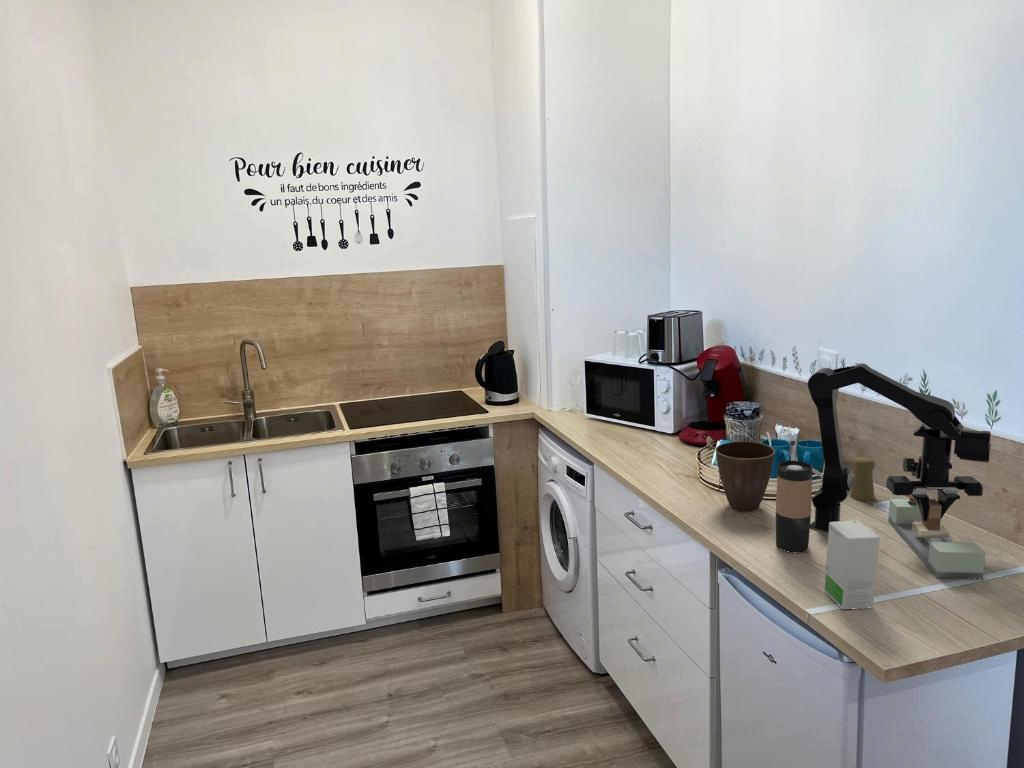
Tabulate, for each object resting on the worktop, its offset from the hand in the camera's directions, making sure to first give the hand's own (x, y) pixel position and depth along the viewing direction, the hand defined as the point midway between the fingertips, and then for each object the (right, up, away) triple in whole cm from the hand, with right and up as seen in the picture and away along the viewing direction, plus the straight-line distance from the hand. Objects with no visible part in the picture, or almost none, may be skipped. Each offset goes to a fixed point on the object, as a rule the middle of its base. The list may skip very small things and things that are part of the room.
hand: (930, 521), depth 174 cm
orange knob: (+2, +2, +11) cm, 11 cm away
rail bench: (0, -6, 0) cm, 6 cm away
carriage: (0, -3, +1) cm, 3 cm away
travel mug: (-30, -7, +4) cm, 31 cm away
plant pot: (-34, -2, +29) cm, 45 cm away
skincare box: (-28, -12, -21) cm, 37 cm away
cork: (-1, +1, +32) cm, 32 cm away
